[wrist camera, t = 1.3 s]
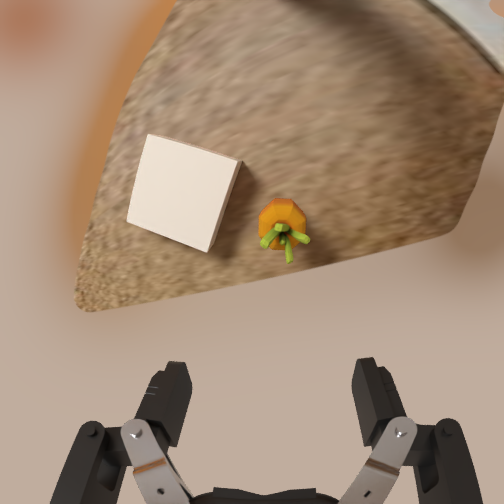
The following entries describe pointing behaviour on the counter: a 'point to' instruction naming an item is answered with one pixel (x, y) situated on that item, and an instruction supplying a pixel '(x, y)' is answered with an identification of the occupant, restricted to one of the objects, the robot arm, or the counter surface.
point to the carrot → (282, 226)
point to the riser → (182, 190)
